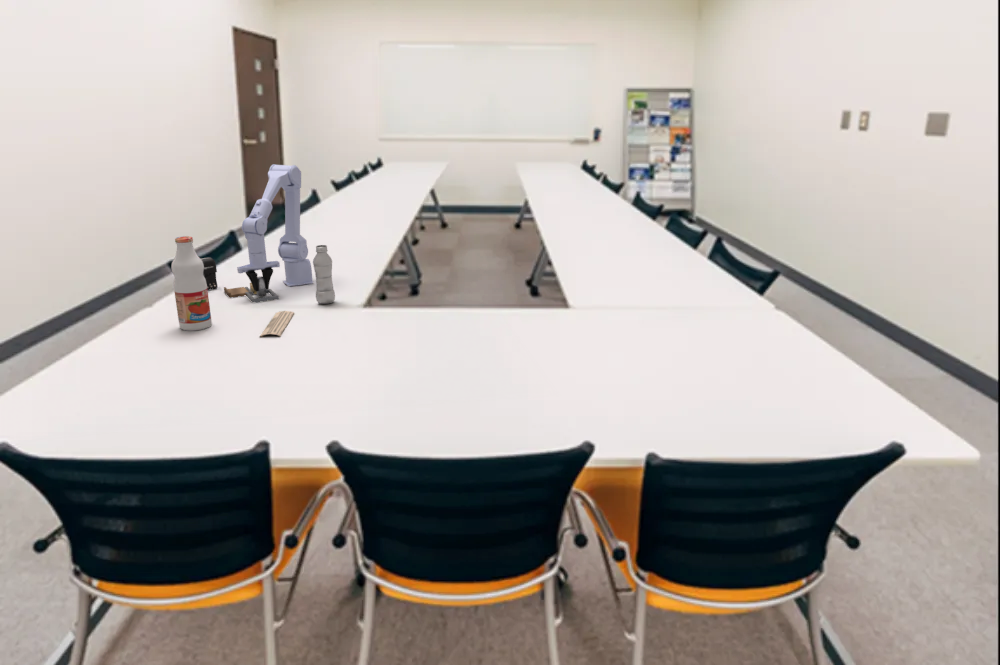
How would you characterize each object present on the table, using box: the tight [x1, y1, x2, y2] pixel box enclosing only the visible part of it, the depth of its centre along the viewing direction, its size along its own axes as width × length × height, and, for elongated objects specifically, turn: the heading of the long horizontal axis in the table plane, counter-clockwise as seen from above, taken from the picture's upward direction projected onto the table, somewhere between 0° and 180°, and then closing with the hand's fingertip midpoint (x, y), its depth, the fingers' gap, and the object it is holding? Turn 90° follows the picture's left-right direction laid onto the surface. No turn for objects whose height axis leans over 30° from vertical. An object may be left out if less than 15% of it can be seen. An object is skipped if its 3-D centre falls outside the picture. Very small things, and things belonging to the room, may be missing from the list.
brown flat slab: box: [223, 286, 249, 298], centre depth 265 cm, size 7×9×2 cm
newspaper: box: [259, 310, 295, 338], centre depth 230 cm, size 24×7×2 cm, turn 5°
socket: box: [244, 286, 280, 303], centre depth 263 cm, size 9×19×1 cm, turn 31°
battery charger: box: [200, 257, 218, 291], centre depth 269 cm, size 7×4×11 cm, turn 134°
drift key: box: [249, 282, 257, 295], centre depth 266 cm, size 3×6×3 cm, turn 31°
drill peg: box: [256, 275, 268, 298], centre depth 259 cm, size 3×3×6 cm
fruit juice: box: [171, 235, 213, 332], centre depth 225 cm, size 9×9×28 cm
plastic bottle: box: [312, 244, 336, 305], centre depth 250 cm, size 6×7×20 cm
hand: (261, 289), depth 260 cm, fingers closed on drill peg, 3 cm apart
